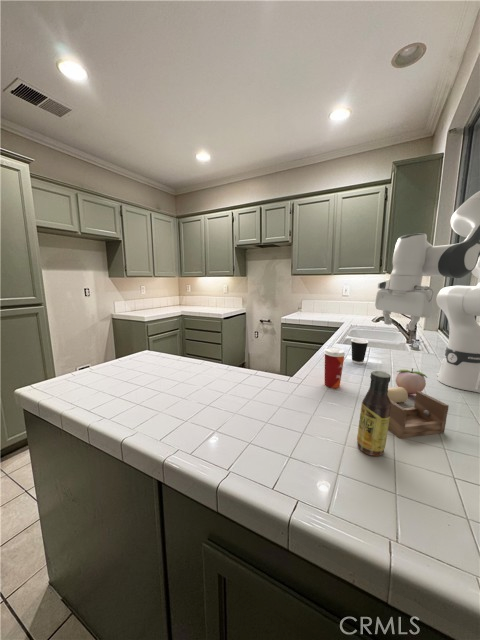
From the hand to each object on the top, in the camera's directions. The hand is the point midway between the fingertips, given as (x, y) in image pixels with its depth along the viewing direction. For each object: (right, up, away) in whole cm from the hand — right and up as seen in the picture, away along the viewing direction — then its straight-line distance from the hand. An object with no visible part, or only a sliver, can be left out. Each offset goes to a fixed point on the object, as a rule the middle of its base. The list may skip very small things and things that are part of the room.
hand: (398, 326), depth 88 cm
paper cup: (-17, -23, +15) cm, 32 cm away
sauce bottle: (-21, -30, -23) cm, 43 cm away
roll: (-2, -26, +2) cm, 26 cm away
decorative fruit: (+8, -25, +7) cm, 27 cm away
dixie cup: (+6, -19, +43) cm, 47 cm away
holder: (-5, -28, -13) cm, 31 cm away
